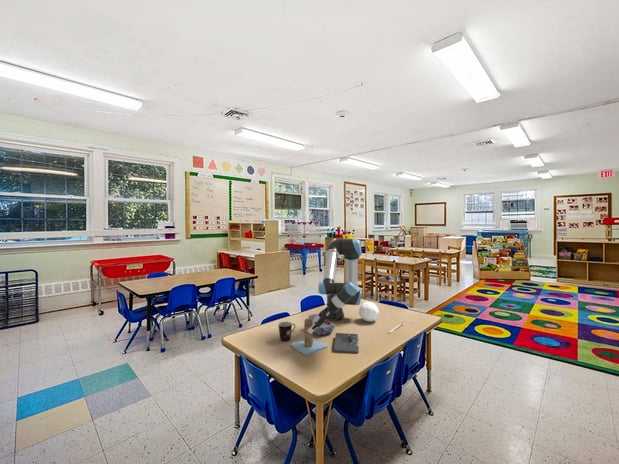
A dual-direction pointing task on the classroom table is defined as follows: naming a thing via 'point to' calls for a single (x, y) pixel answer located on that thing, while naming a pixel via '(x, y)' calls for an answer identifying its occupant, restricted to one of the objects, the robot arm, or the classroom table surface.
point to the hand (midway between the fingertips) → (310, 327)
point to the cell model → (322, 326)
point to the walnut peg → (307, 336)
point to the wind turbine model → (395, 328)
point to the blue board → (308, 350)
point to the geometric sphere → (368, 311)
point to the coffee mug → (285, 330)
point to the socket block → (346, 343)
